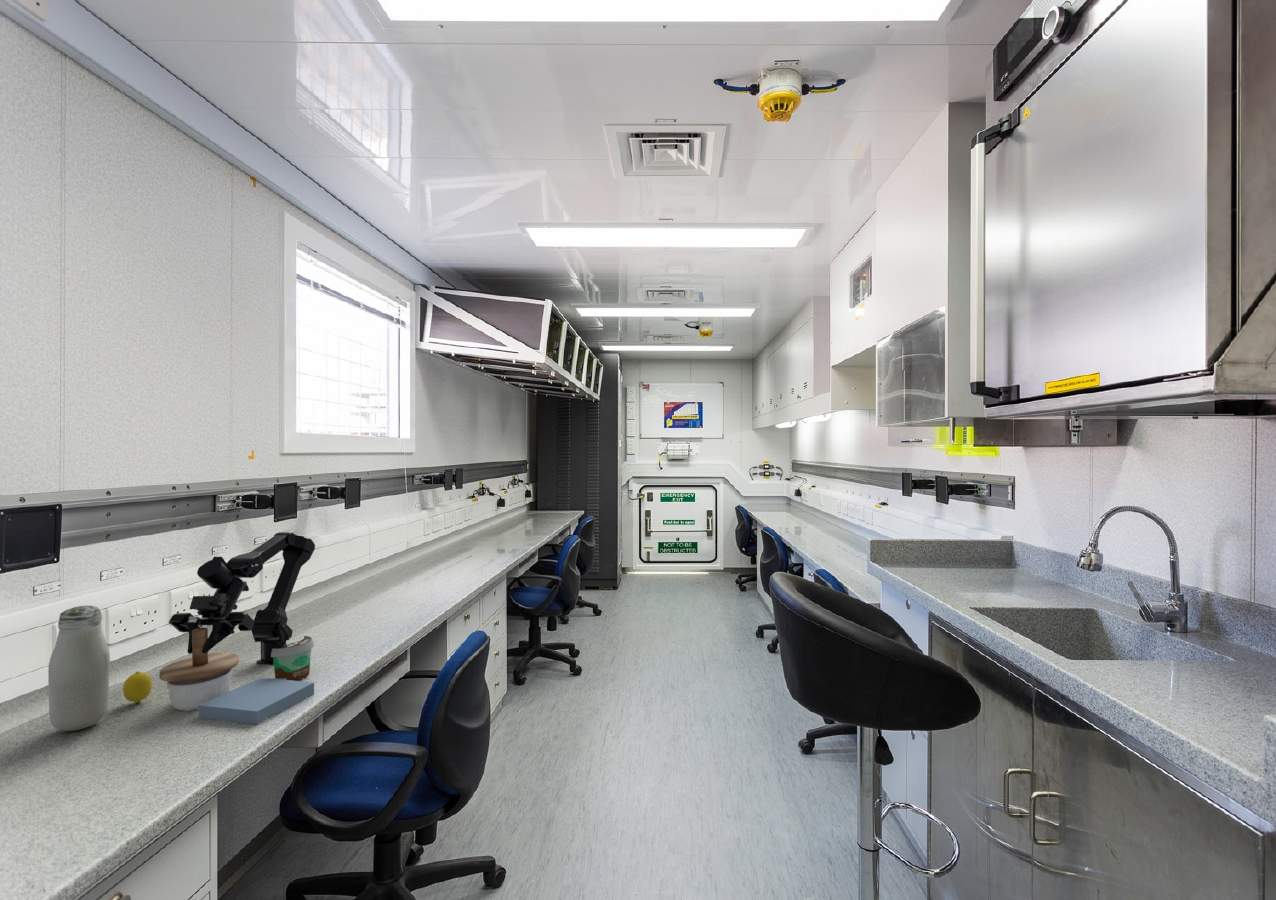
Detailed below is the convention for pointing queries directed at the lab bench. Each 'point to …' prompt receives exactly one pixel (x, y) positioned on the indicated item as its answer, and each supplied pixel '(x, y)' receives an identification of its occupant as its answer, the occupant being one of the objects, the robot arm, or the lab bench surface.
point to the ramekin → (198, 690)
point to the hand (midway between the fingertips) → (196, 652)
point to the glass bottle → (79, 670)
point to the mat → (256, 700)
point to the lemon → (137, 687)
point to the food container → (293, 660)
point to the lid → (199, 662)
